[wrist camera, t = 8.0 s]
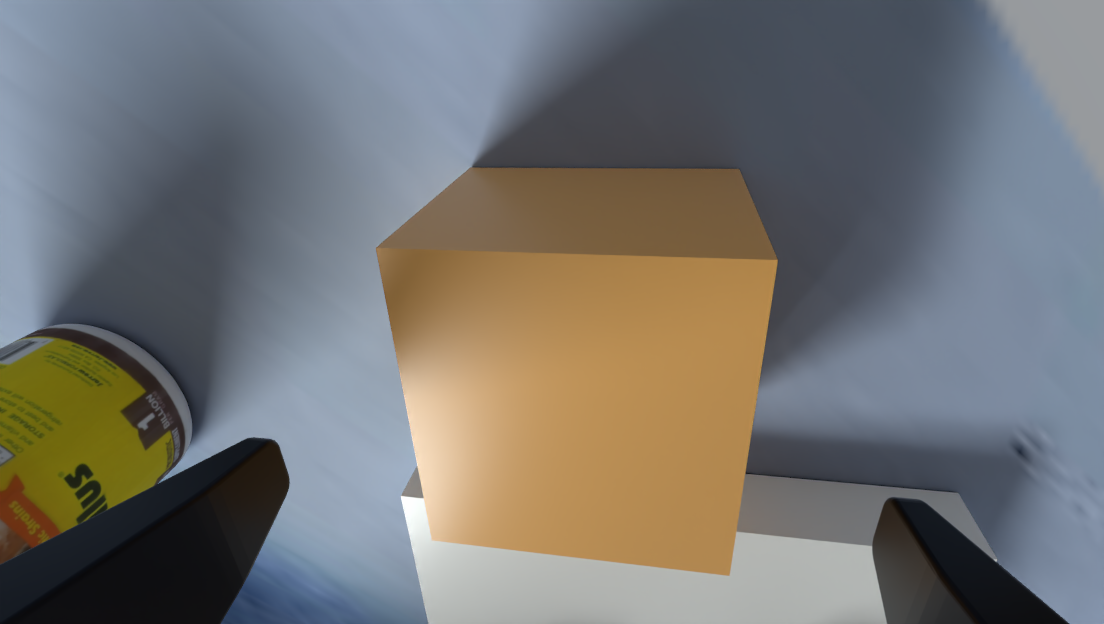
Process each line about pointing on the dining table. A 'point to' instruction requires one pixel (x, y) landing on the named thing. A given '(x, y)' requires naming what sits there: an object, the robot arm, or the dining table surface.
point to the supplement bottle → (81, 430)
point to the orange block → (583, 359)
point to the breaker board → (685, 596)
